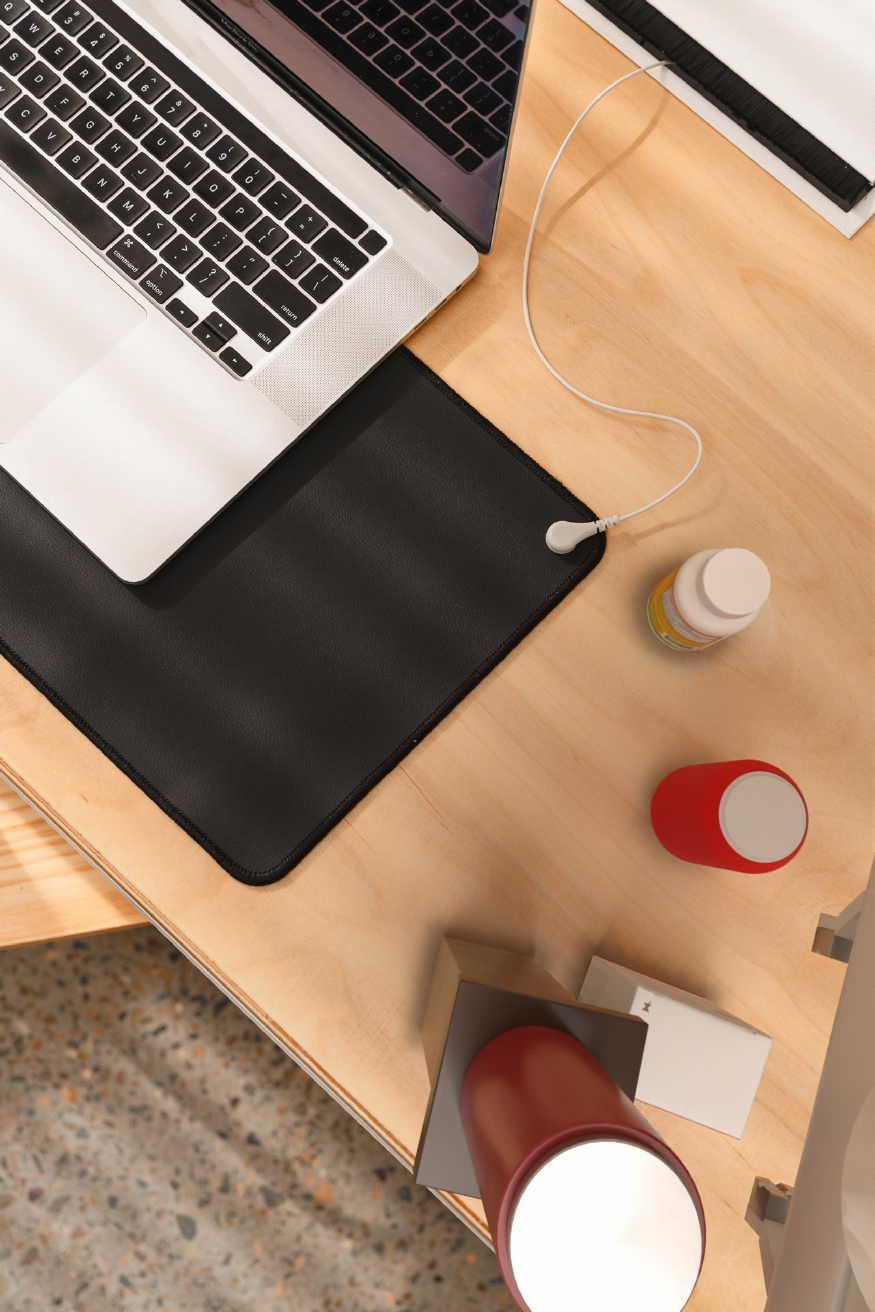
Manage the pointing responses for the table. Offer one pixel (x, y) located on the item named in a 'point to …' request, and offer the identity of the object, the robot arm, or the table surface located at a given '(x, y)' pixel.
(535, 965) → the walnut stand
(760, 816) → the beverage can
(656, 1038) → the small box
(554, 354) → the table surface
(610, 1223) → the soda can
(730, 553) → the supplement bottle
